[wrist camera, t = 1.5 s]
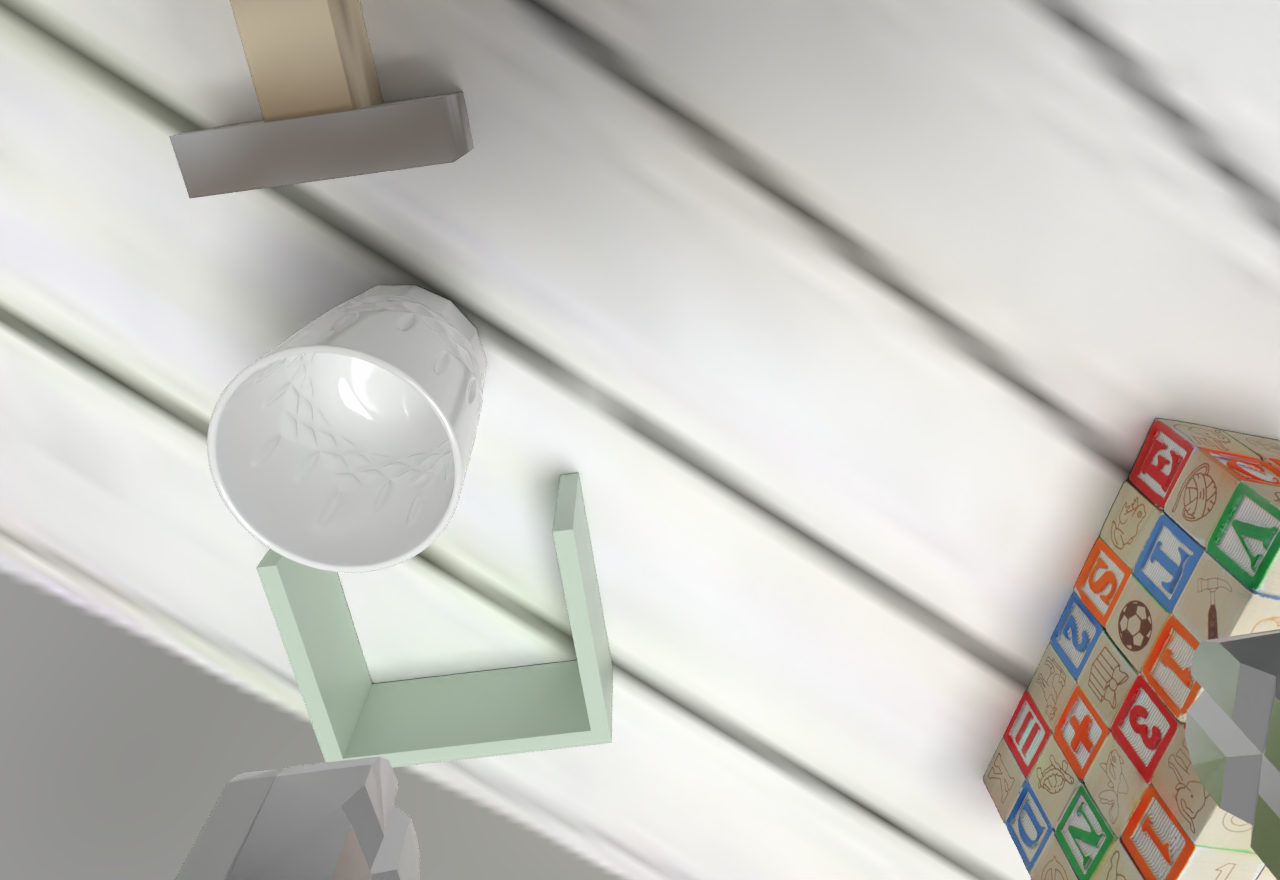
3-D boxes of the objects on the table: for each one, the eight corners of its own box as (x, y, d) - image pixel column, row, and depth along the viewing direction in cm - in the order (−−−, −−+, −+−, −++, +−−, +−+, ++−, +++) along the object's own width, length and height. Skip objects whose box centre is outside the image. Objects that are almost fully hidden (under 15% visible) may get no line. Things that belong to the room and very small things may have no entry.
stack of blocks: (1149, 412, 39) (1366, 562, 27) (1281, 437, 39) (1546, 594, 28) (979, 780, 47) (1092, 1010, 36) (1090, 795, 48) (1234, 1027, 36)
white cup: (494, 267, 35) (450, 344, 26) (507, 447, 39) (471, 572, 30) (295, 269, 35) (182, 347, 26) (324, 449, 39) (232, 575, 29)
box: (298, 507, 40) (256, 567, 35) (578, 472, 39) (572, 529, 35) (360, 698, 44) (329, 774, 39) (612, 669, 44) (611, 742, 39)
